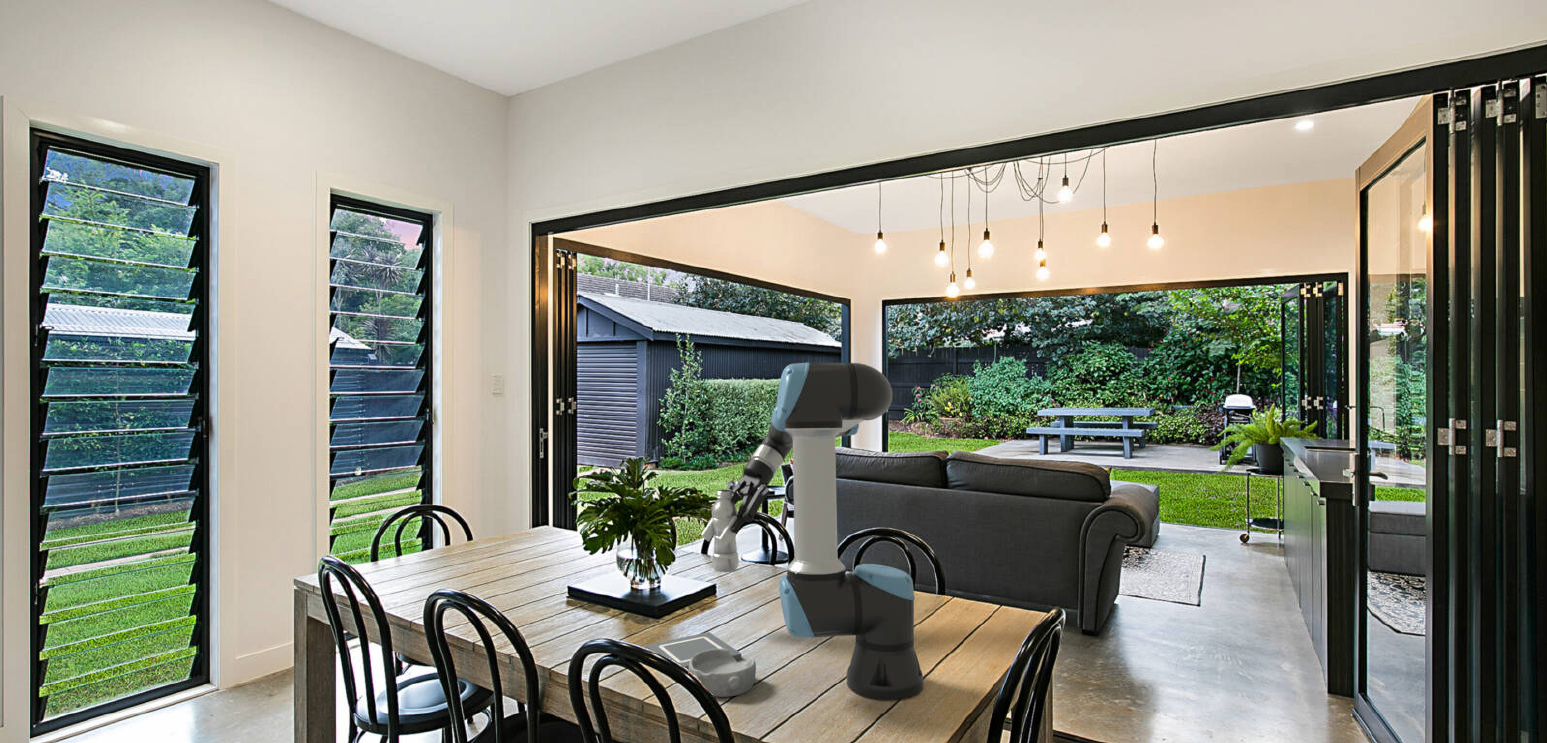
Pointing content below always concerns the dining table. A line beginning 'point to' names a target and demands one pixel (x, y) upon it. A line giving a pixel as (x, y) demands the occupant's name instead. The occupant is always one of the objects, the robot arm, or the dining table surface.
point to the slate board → (690, 647)
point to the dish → (722, 672)
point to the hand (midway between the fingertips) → (713, 540)
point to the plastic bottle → (722, 515)
